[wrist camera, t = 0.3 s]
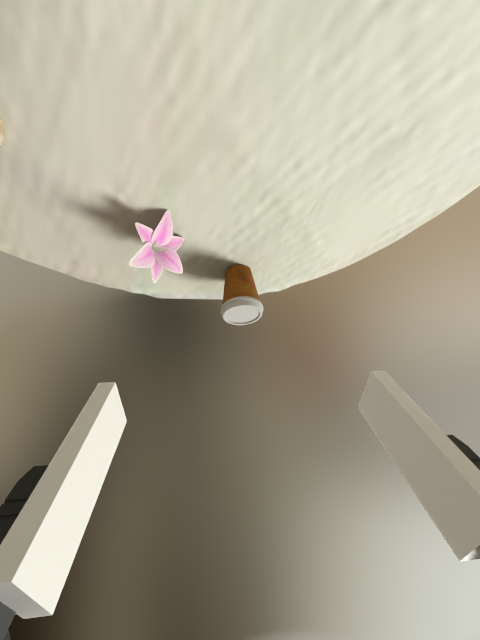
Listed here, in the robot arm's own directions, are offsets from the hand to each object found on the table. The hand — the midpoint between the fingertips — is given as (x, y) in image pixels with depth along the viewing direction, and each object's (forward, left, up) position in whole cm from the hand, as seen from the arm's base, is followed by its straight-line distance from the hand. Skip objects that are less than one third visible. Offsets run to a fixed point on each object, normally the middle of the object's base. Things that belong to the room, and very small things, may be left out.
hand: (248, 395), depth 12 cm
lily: (+12, -19, -35) cm, 42 cm away
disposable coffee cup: (+30, -11, -35) cm, 47 cm away
